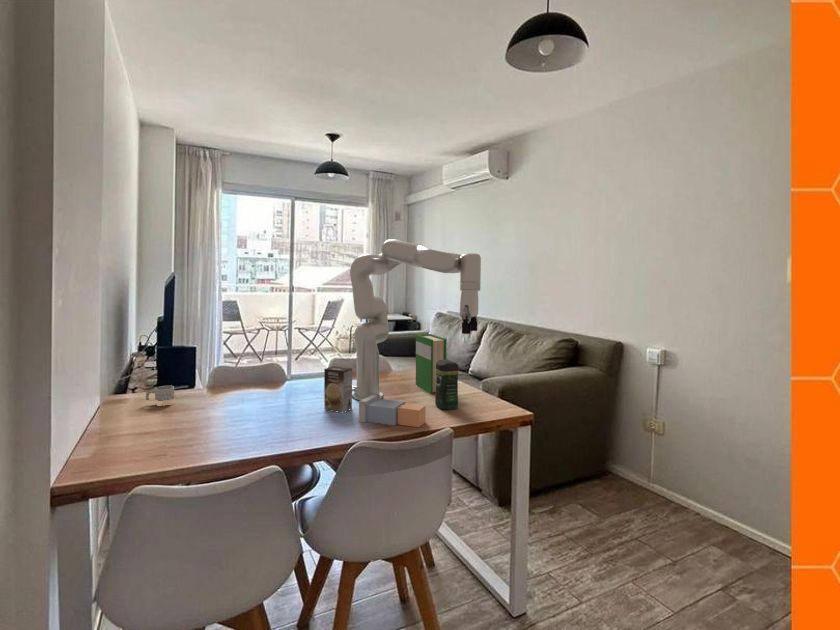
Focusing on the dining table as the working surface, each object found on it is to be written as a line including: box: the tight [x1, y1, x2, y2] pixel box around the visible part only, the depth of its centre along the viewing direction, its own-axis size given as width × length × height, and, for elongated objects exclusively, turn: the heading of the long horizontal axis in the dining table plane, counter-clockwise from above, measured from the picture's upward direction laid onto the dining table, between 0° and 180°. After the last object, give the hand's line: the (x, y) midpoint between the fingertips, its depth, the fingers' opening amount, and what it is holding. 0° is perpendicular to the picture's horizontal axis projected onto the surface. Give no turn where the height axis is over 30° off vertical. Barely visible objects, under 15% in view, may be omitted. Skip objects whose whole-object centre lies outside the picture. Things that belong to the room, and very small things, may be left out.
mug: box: [145, 385, 175, 401], centre depth 179 cm, size 10×7×7 cm, turn 108°
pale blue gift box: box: [358, 394, 406, 427], centre depth 163 cm, size 14×11×7 cm
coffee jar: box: [434, 359, 460, 411], centre depth 179 cm, size 10×8×19 cm
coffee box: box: [323, 365, 353, 413], centre depth 174 cm, size 9×6×16 cm
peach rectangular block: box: [397, 403, 426, 428], centre depth 159 cm, size 8×6×6 cm
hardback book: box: [415, 333, 448, 395], centre depth 206 cm, size 18×7×24 cm, turn 22°
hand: (469, 332), depth 172 cm, fingers open, 9 cm apart
